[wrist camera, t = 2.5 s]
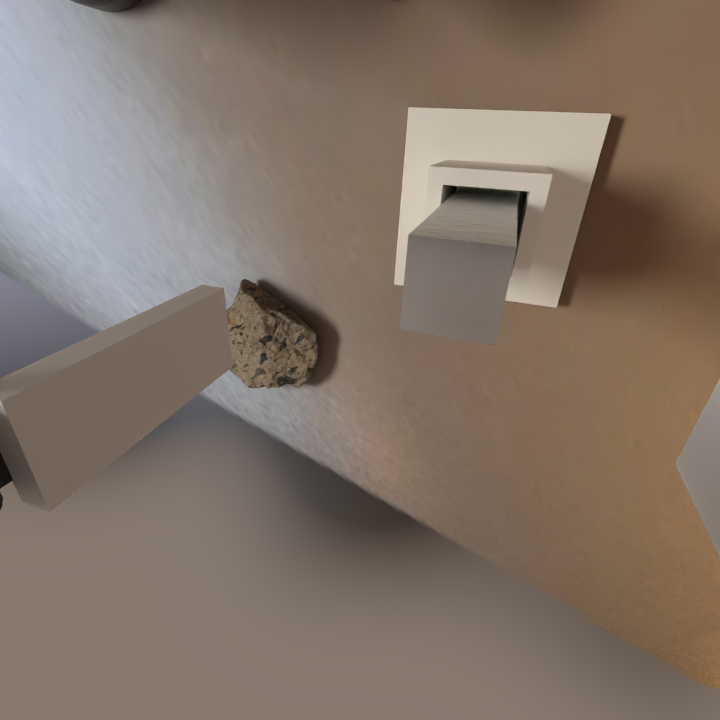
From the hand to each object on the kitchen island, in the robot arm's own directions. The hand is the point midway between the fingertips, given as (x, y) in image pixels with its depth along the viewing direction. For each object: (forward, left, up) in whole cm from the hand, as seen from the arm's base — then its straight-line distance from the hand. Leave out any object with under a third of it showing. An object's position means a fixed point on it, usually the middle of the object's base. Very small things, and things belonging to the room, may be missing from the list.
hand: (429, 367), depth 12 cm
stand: (0, 0, -27) cm, 27 cm away
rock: (+15, -21, -28) cm, 38 cm away
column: (0, 0, -26) cm, 26 cm away
